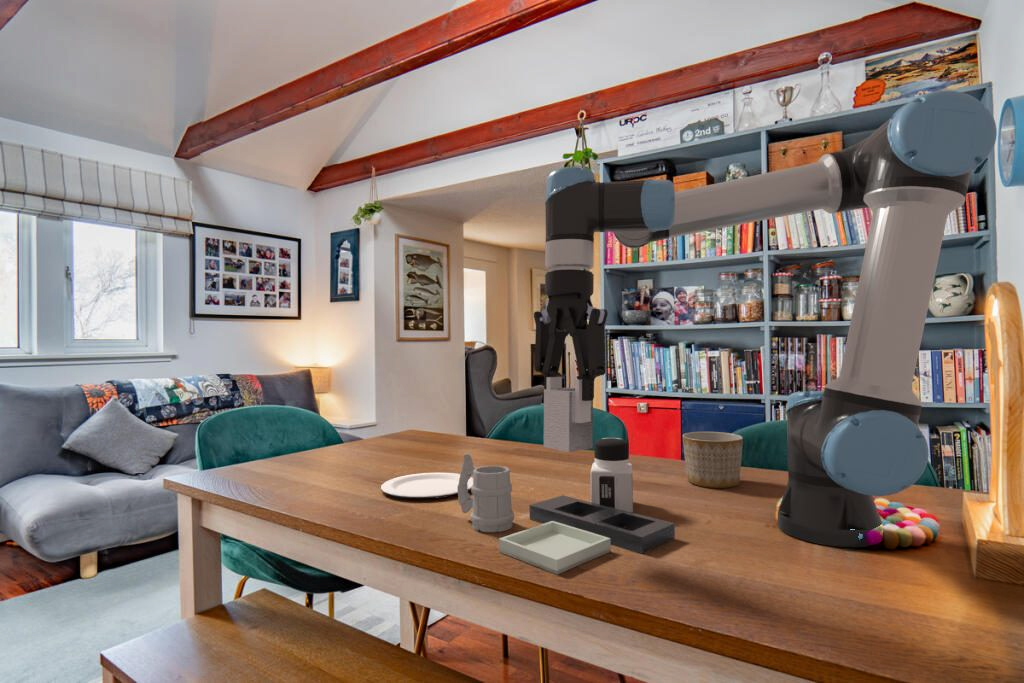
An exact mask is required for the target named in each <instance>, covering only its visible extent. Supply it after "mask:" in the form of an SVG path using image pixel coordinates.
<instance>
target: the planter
mask: <svg viewBox="0 0 1024 683" xmlns="http://www.w3.org/2000/svg"><path fill="white" fill-rule="evenodd" d="M743 441H744V437H743V436H741V435H740V434H736V433H731V432H721V431H720V432H719V431H693V432H686V433H683V434H682V443H683V444H682V445H683V452H684V453H683V454H684V462H685V471H686V478H687V480H688V482H689V483H691V484H692V485H695V486H698V487H700V488H701V487H702V488H710V489H728V488H729V489H730V488H732V487H733V488H734V487H736V486H738V484H739V483H740V480H741V478H740V477H741V469H742V468H741V465H742V457H743V456H742V453H743V444H744V443H743Z"/></svg>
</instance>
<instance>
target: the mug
mask: <svg viewBox="0 0 1024 683" xmlns="http://www.w3.org/2000/svg"><path fill="white" fill-rule="evenodd" d="M462 458H463V461H462V462H463V463H462V466H461V470H460V473H459V474H460V478H459V484H458V487H457V488H458V494H457V496H458V497H457V499H458V500H457V501H458V504H459V506H460V507H461V508H460V509H461V511H462V513H463V514H467V513H469V511H470V510H471V509H472V510H471V511H472V512H470V518H469V519H470V522H471V523H472V529H474V530H475V531H480V532H483V533H497V532H498V533H501V532H506V531H507V530H510V529H511V528H513V522H514V520H515V512H514V511H513V510H512V509H513V508H512V505H513V504H512V491H513V485H512V483H511V472H510V471H511V470H510V468H508V467H507V466H504V465H503V466H502V465H488V466H486V465H483V466H479V467H474V461H473V459H472V456H471V455H470V453H468V452H466V453H464V454H463V457H462ZM470 477H472V478H473V485H472V489H470V491H471V494H472V497H471V495H470V493H469V490H468V484H467V483H468V480H469V479H470Z"/></svg>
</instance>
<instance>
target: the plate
mask: <svg viewBox="0 0 1024 683" xmlns="http://www.w3.org/2000/svg"><path fill="white" fill-rule="evenodd" d="M460 474H461V473H455V472H422V473H421V472H420V473H414V474H413V473H412V474H406V475H402V476H397V477H395V478H390V479H389V480H386V481H384V482H383V483H382V484H381V485H380V486H381V487H380V490H381V491H382V492H383V493H384V494H387V495H388V496H391V497H396V498H405V499H411V498H432V499H437V498H436V497H441V498H445V496H447V497H451V495H452V496H454V495H458V488H457V487H458V484H459V478H460ZM467 484H468V491H471V489H472V485H473V476H471V477H470V479H469V480H468V483H467Z"/></svg>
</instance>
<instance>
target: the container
mask: <svg viewBox="0 0 1024 683" xmlns="http://www.w3.org/2000/svg"><path fill="white" fill-rule="evenodd" d="M593 446H594V447H593V449H594V450H593V451H594V462H592V465H591V468H590V474H589V475H590V502H591V503H595V504H599V505H603V506H607V507H611V508H615V509H619V510H623V511H627V512H631V513H634V495H633V494H634V492H633V491H634V490H633V488H634V486H633V485H634V484H633V483H634V482H633V481H634V480H633V477H634V476H633V464H632V463H630V455H629V454H630V451H629V450H630V449H629V448H630V447H629V442H628V441H627V440H625V439H623V438H619V437H604V438H603V437H602V438H600V439H597V440H595V442H594V443H593Z"/></svg>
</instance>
